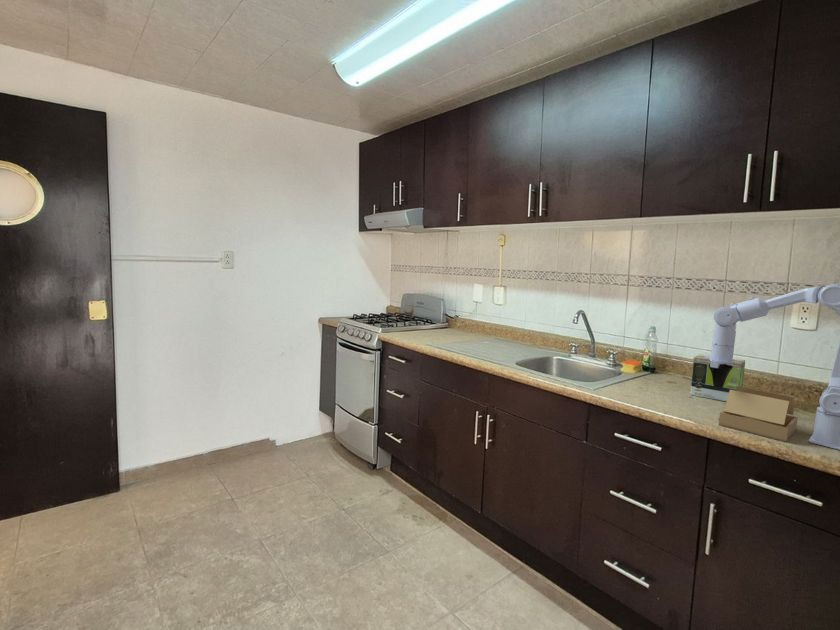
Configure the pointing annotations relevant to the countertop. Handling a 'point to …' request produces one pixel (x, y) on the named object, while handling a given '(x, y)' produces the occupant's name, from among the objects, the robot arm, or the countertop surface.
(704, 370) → the tea box
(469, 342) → the countertop surface
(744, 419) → the carton
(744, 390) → the flap
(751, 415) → the flap
